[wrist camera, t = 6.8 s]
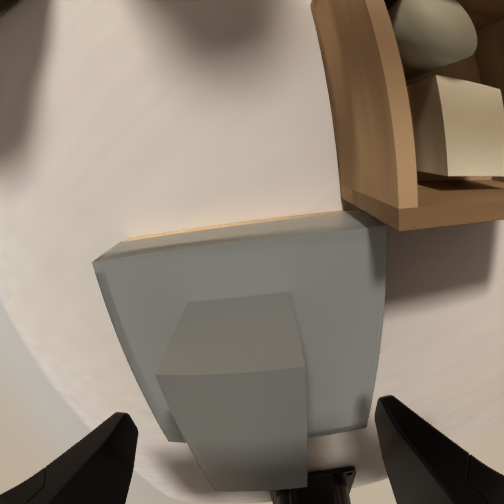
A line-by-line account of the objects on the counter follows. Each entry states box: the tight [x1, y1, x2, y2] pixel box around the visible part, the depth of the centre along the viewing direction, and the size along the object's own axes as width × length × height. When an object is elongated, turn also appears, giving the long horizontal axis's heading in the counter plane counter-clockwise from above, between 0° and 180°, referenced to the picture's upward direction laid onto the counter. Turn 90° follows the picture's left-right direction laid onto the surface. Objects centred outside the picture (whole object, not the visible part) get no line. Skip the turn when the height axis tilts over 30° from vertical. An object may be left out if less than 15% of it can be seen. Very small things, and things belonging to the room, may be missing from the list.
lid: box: [92, 211, 387, 491], centre depth 9 cm, size 9×9×6 cm
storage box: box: [310, 0, 504, 231], centre depth 7 cm, size 8×8×5 cm
